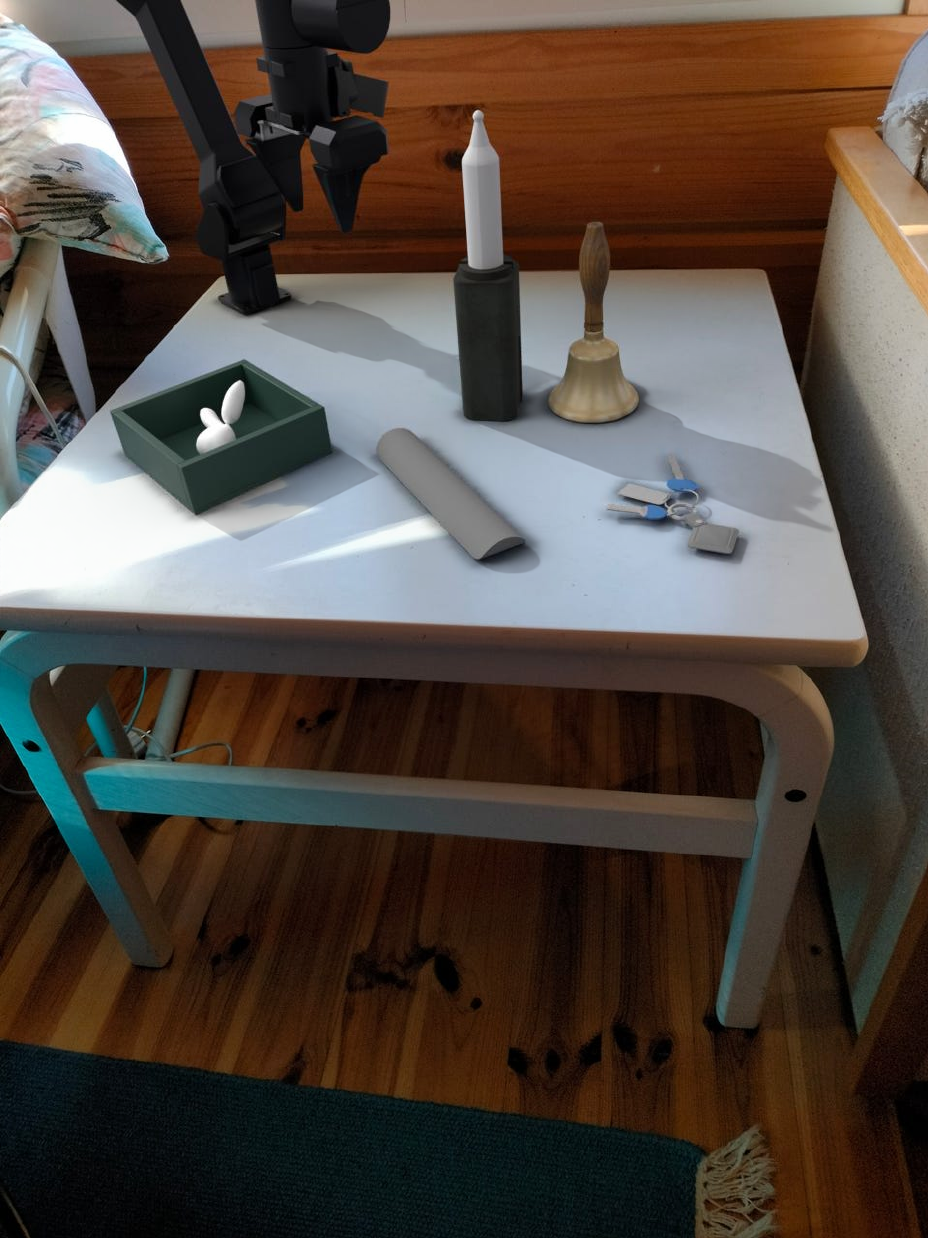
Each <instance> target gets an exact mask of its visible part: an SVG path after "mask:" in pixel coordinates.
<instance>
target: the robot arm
mask: <svg viewBox="0 0 928 1238" xmlns="http://www.w3.org/2000/svg"><path fill="white" fill-rule="evenodd" d="M115 1H116V2H117V3H118V4H119V5H120V6H122V7H123V8H124V9H125V10H127V12H129V13H130V14H131V15H132V16H133V17H134V18H135V19H136V21H137V23H138V26H139V28H140V30H141V32H142V35H143V37H144V39H145V41H146V44H147V46H148V48H149V50H150V53H151V55H152V57H153V59H154V62H155V64H156V67H157V68H158V70H159V73H160V75H161V77H162V79H163V81H164V82H163V83H164V85H165V86H166V89H167V91H168V94H169V95H170V98H171V100H172V102H173V104H174V107H175V109H176V111H177V113H178V115H179V118H180V120H181V122H182V124H183V127H184V129H185V131H186V134H187V136H188V139H189V141H190V142H191V145H192V147H193V149H194V151H195V154H196V157H197V159H198V161H199V177H198V190H197V194H198V198H199V200H200V202H201V206H202V208H203V212H202V214H201V217H200V220H199V222H198V224H197V227H196V230H195V233H194V237H195V239H196V242H197V244H198V247H199V250H200V252H201V253H202V255H205V256H208V257H210V258H213V259H216V260H218V261H221V266H222V270H223V275H224V279H225V285H226V288H227V292H225V293H223V294H219V295H218V296H217V300H218V301H219V302H220V303H222V304H224V305H226V306H227V307H229V308H232V309H233V310H235V311H237V312H239V313H240V314H243V315H249V314H252V313H254V312H257V311H260V310H263V309H266V308H268V307H270V306H273V305H276V304H279V303H283V302H285V301H288V300H290V299H292V298H293V297H292V296H293V295H292V292H289V291H287V290H285V289H283V288H282V287H279V285H278V281H277V274H276V269H275V265H274V261H273V260H274V259H273V255H272V251H271V245H272V244H274V243H277V242H283V241H285V240H286V232H287V229H286V228H287V204H288V206H289V208H290V210H291V211H292V212H294V213H300V212H302V211H303V210H304V186H303V170H302V158H301V152H302V148H303V147H304V145H305V142H306V140H308V142H309V148H310V153H311V154H312V156H313V158H314V160H315V163H313V164H311V166H312V169H313V172H314V174H315V176H316V179H317V181H318V183H319V185H320V187H321V190H322V192H323V195H324V197H325V199H326V201H327V204H328V207H329V208H330V211H331V214H332V217H333V218H334V220H335V222H336V224H337V226H338V229H339V231H340V233H342V234H344V235H345V234H348V233H351V232H352V231H353V229H354V224H355V219H356V213H357V207H358V201H359V196H360V191H361V188H362V187H361V186H362V183H363V179H364V177H365V174H366V173H367V172H368V170H369V169H370V168H371V166H372V165H375V164H378V163H379V162H380V160H381V159H382V157H384V156H386V155H389V153H390V148H389V137H388V130H387V129H386V128H385V126H384V125H382V124H381V123H380V122H379V121H378V120H375V119H371V118H368V117H364V116H361V115H358V114H355V115H352V112H351V110H352V111H357V112H360V113H364V114H368V113H369V114H372V115H373V116H374V117H375V118H376V117H377V118H382V119H383V118H384V115H385V110H386V103H387V97H388V90H389V85H390V82H389V81H386V80H382V79H380V78H379V79H378V78H374V77H371V76H366V75H362V74H358V73H355V71H354V66H353V62H352V61H350V60H348V59H347V60H346V59H343V58H341V56H339V54H338V52H335V51H342V52H346V53H347V52H348V53H356V54H363V55H367V54H371V53H373V52H374V51H376V50H377V49H379V48H380V46H382V44H383V43H384V41H385V39H386V37H387V35H388V32H389V29H390V24H391V2H390V0H254V2H255V9H256V14H257V20H258V26H259V31H260V38H261V44H262V51H263V56H259V57H256V58H255V61H256V66H257V71H259V72H262V73H265V74H267V79H268V84H269V90H270V93H268V94H263V95H260V96H256V97H251V98H247V99H242V100H239V101H238V103H237V105H236V107H235V109H234V111H233V114H232V115H233V118H234V121H233V119H232V116H231V114H230V112H229V110H228V107H227V105H226V102H225V100H224V98H223V95H222V93H221V90H220V88H219V86H218V83H217V81H216V78H215V77H214V74H213V72H212V69H211V68H210V65H209V63H208V60H207V58H206V55H205V53H204V50H203V49H202V46H201V44H200V41H199V38H198V36H197V34H196V32H195V29H194V27H193V25H192V23H191V20H190V18H189V16H188V13H187V11H186V9H185V7H184V4H183V2H182V0H115ZM331 50H335V51H331ZM351 115H352V116H351ZM336 118H339V119H336ZM334 119H335V120H334ZM240 135H241V136H244V137H245V138H244V142H245V144H246V145H247V146H249V147H250V149H251V150H252V151H253V152H252V151H251V150H250V149H249V148H248V147H247V146H245V144H244V143H243V142H242V140H241V137H240Z"/></svg>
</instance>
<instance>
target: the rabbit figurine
mask: <svg viewBox="0 0 928 1238" xmlns="http://www.w3.org/2000/svg"><path fill="white" fill-rule="evenodd" d="M244 399H245V387H244V383H243V382H242V381H240V380H239V381H238V382H236V383H234V384H233V385H232V386H231V387H230V388H229V390H228V391H227V393H226V395H225V398H224V401H223V406H222V418H223V420H224V422H225V423H226V424H223V423H222V422H221V421H220V420H219V418H218V416H217V415H216V413H215V412H214V411H213V410H211V409H209V408H203V409H201V413H200V416H201V420H202V422H203V424H204V425H205V426H206V427H207V429H206V430H204V431H203V432H202V433H201V434H200V436H199V437H198V439H197V443H196V446H197V450H198V452H199V453H200V455H201V454H203V453H205V452H208V451H210V450H213V449H215V448H217V447H220V446H222V445H224V444H227V443H229V442H231V441H234V440H236V437H235V434H234V432H233V430H232V428H231V427H230V425H229V424H233V423H235V422H236V421H237V420H238V419H239V417H240V415H241V411H242V408H243V403H244Z"/></svg>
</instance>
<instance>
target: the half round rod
mask: <svg viewBox="0 0 928 1238" xmlns="http://www.w3.org/2000/svg"><path fill="white" fill-rule="evenodd" d="M375 450H376V455H377V457H378V459H379V460H380V461H381V462H382V463H383V464H384V466H385V467H386V468H388V469H389V471H391V473H392V474H393V475H394V476H395V477H396V478H397V479H398V480H399V481H400V482H401V483H402V484H403V485H404V487H406V489H408V491H409V492H410V493H411V494H412V495H413V496H414V497H415V498H416V499H417V500H418V501H419V502H420V503H421V504H422V506H423V507H424V508H425V509H426V510H427V511H428V512H429V513H430V514H431V515H432V517H434V518H435V519H436V521H438V522H439V523H440V525H442V526H443V528H444V529H445V530H446V531H447V532H448V533H449V534H450V535H451V536H452V538H454V539H455V541H457V542H458V544H460V546H461V547H462V548H463V549H464V550H465V551H466V552H467V553H468V554H469V555H470V556H471V558H473V559H475V560H483V559H485V558H487V557H490V556H493V555H496V554H498V553H501V552H503V551H506V550H509V549H512V548H514V547H516V546H520V545H522V544H524V543H525V542H526V541H527V540H526V539H525V538H524V536H522V535H521V534H520V533H519V532H518V531H517V530H516V529H515V528H513V527H512V526H511V524H509V523H508V522H507V521H506V519H504V517H502V515H500V514H499V513H498V512H497V511H496V510H495V509H494V508H493V507H492V506H491V505H489V504H488V503H487V502H486V501H485V500H484V499H483V498H482V497H481V496H480V495H479V494H478V493H477V492H476V491H475V490H474V489H473V488H472V487H470V485H469V484H467V483H466V481H465V480H463V478H461V477H460V476H459V475H458V474H457V473H456V472H455V471H454V470H453V469H452V468H451V467H450V466H448V464H447V463H446V462H445V461H444V460H442V459H441V458H440V456H439V455H437V454H436V453H435V452H434V451H433V450H432V449H431V448H430V447H429V446H427V444H426V443H424V441H423V440H421V439H420V438H419V437H418V436H417V435H416V433H414V432H412V430H410V429H408V428H405V427H397V428H392V429H390V430H388V431H386V432H385V433H384V434H382V435H381V437H380V438H379V439H378V440H377V444H376V447H375Z"/></svg>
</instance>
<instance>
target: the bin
mask: <svg viewBox="0 0 928 1238" xmlns="http://www.w3.org/2000/svg"><path fill="white" fill-rule="evenodd" d="M239 380H240V381H242V382H243V383H244V387H245V399H244V403H243V408H242V411H241V415H240V417H239V419H238V420H237V421H236V422H235V423H233V424H229V425H230V427H231V428H232V430H233V432H234V434H235V437H236V440H234V441H231V442H229V443H227V444H224V445H222V446H220V447H217V448H215V449H213V450H210V451H208V452H205V453H203V454H201V455H200V453H199V452H198V450H197V446H196V443H197V439H198V437H199V436H200V434H201V433H202V432H203V431H204V430H206V429H207V427H206V426H205V425H204V424H203V422H202V420H201V416H200V413H201V409H203V408H209V409H211V410H213V411H214V412H215V413H216V415H217V416H218V418H219V420H220V421H221V422H222V423H223V424H226V423H225V422H224V420H223V418H222V406H223V401H224V398H225V395H226V393H227V391H228V390H229V388H230V387H231V386H232V385H233V384H234V383H236V382H238V381H239ZM109 412H110V416H111V419H112V421H113V425H114V427H115V431H116V434H117V436H118V440H119V442H120V446H121V448H122V451H123V453H124V456H125V457H127V458H128V459H129V460H130V461H131V462H132V463H134V465H136V466H137V467H138V468H139V469H141V470H142V471H143V472H144V474H146V475H148V476H149V477H150V478H151V479H152V480H153V481H155V482H156V483H157V484H158V485H159V486H160V487H162V488H163V489H164V490H166V492H168V493H169V494H170V495H171V496H173V497H174V498H175V499H176V500H177V501H178V502H180V504H182V505H183V506H184V507H185V508H187V509H188V510H189V511H190V512H191V513H193V514H194V515H195V516H196V515H198V514H199V515H200V514H201V513H203V512H205V511H207V510H210V509H212V508H214V507H216V506H218V505H221V504H223V503H226V502H227V501H230V500H232V499H234V498H236V497H238V496H241V495H243V494H245V493H247V492H250V491H251V490H253V489H255V488H258V487H260V486H262V485H264V484H267V483H269V482H270V481H274V480H275V479H278V478H280V477H282V476H284V475H287V474H289V473H291V472H292V471H293V472H294V471H295V470H298V469H300V468H302V467H304V466H306V465H308V464H310V463H313V462H315V461H317V460H319V459H321V458H324V457H326V456H328V455H330V454H332V453H333V447H332V441H331V436H330V431H329V424H328V420H327V415H326V409H325V406H324V405H322V404H321V403H319V402H317V401H315V400H313V399H312V398H310V397H308V396H306V395H305V394H303V393H302V392H300V391H298V390H297V389H296V388H294V387H291V386H290V385H289V384H287V383H286V382H283V381H282V380H280V379H278V378H277V377H275V376H273V375H272V374H270V373H268V372H267V371H265V370H263V369H262V368H260V367H258V366H257V365H255V364H253V363H251V362H250V361H249V360H247V359H245V358H243V359H241V360H238V361H236V362H234V363H231V364H228V365H226V366H222V367H220V368H217V369H215V370H212V371H210V372H207V373H204V374H201V375H199V376H197V377H194V378H191V379H189V380H185V381H184V382H181V383H179V384H176V385H173V386H171V387H168V388H165V389H163V390H160V391H158V392H155V393H152V394H150V395H147V396H145V397H141V398H139V399H136V400H134V401H131V402H129V403H126V404H124V405H121V406H119V407H115V408H113V409H110V410H109Z"/></svg>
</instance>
